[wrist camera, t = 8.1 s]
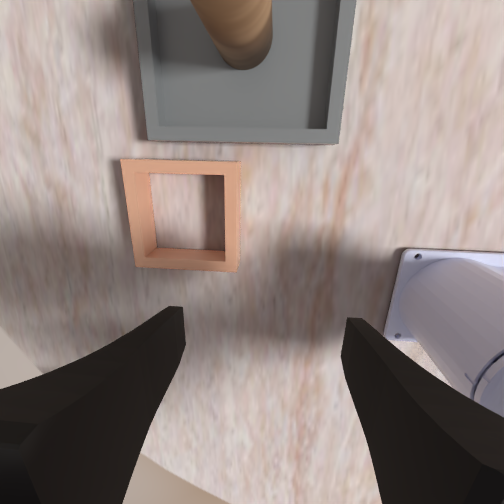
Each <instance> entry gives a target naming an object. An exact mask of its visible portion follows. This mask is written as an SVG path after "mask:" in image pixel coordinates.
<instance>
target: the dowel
mask: <svg viewBox="0 0 504 504" xmlns="http://www.w3.org/2000/svg"><path fill="white" fill-rule="evenodd" d="M190 1H191V3H192V5H193V6H194V8H195V10H196V12H197V14H198V15H199V17H200V19H201V21H202V23H203V25H204V26H205V28H206V30H207V32H208V34H209V35H210V37H211V39H212V41H213V43H214V44H215V46H216V48H217V50H218V52H219V53H220V55H221V57H222V58H223V60H224V61H225V62H226V63H227V64H228V65H230V66H231V67H233V68H235V69H239V70H249V69H252V68H254V67H256V66H258V65H259V64H260V63H261V62H262V61H263V60H264V59H265V58H266V56H267V55H268V53H269V50H270V48H271V44H272V38H273V25H272V0H190Z"/></svg>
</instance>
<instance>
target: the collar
mask: <svg viewBox="0 0 504 504" xmlns="http://www.w3.org/2000/svg"><path fill="white" fill-rule="evenodd" d="M120 161H121V168H122V175H123V182H124V189H125V196H126V203H127V210H128V217H129V224H130V231H131V238H132V245H133V252H134V259H135V266H136V267H146V268H164V269H183V270H201V271H220V272H237V269H238V266H239V263H240V220H241V161H206V160H166V159H120ZM149 173H170V174H205V175H224V191H225V251H215V250H195V249H174V248H157V241H156V232H155V223H154V214H153V205H152V195H151V186H150V177H149Z"/></svg>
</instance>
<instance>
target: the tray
mask: <svg viewBox="0 0 504 504" xmlns="http://www.w3.org/2000/svg"><path fill="white" fill-rule="evenodd" d="M133 5H134V14H135V24H136V33H137V42H138V52H139V61H140V71H141V80H142V90H143V99H144V108H145V118H146V127H147V137H148V140H152V141H167V142H216V143H265V144H314V145H335V144H338V143H339V135H340V127H341V119H342V111H343V103H344V95H345V87H346V79H347V71H348V63H349V55H350V47H351V39H352V31H353V23H354V15H355V7H356V0H272V25H273V38H272V44H271V48H270V50H269V53H268V55H267V56H266V58H265V59H264V60H263V61H262V62H261V63H260V64H259V65H258V66H256V67H254V68H252V69H249V70H239V69H235V68H233V67H231V66H230V65H228V64H227V63H226V62H225V61H224V60H223V58H222V57H221V55H220V53H219V52H218V50H217V48H216V46H215V44H214V43H213V41H212V39H211V37H210V35H209V34H208V32H207V30H206V28H205V26H204V25H203V23H202V21H201V19H200V17H199V15H198V14H197V12H196V10H195V8H194V6H193V5H192V3H191V1H190V0H133Z"/></svg>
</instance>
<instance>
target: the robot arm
mask: <svg viewBox="0 0 504 504" xmlns="http://www.w3.org/2000/svg"><path fill="white" fill-rule="evenodd" d="M416 254H419V256H418V257H417V258H414V256H415V255H416ZM397 333H399V334H398V335H395V334H397ZM384 336H385V337H386V338H385V337H383V336H382V335H381V334H380V333H379V332H378V331H377V330H375V329H374V328H373V327H372V326H371V325H370V324H368V323H367V322H366V321H365V320H363V319H362V318H348V317H347V322H346V328H345V334H344V340H343V345H342V351H341V360H342V365H343V370H344V374H345V379H346V382H347V385H348V388H349V391H350V394H351V397H352V399H353V402H354V405H355V408H356V411H357V414H358V416H359V419H360V422H361V425H362V428H363V431H364V434H365V437H366V440H367V443H368V447H369V451H370V455H371V459H372V463H373V467H374V471H375V475H376V479H377V483H378V488H379V492H380V496H381V501H382V504H504V253H497V252H475V251H453V250H432V249H406V250H405V251H404V252H403V253H402V256H401V261H400V265H399V269H398V273H397V278H396V282H395V286H394V290H393V295H392V299H391V303H390V308H389V312H388V316H387V320H386V325H385V329H384ZM387 339H388V340H397V341H411V342H418V343H419V344H420V345H421V347H422V348H423V349H424V351H425V352H426V353H427V355H428V356H429V357H430V358H431V360H432V361H433V362H434V364H435V365H436V366H437V368H438V369H439V370H440V372H441V373H442V374H443V376H444V377H445V378H446V379H447V381H448V382H449V383H450V385H451V386H452V387H453V388H452V387H450V386H449V385H447V384H446V383H444V382H443V381H441V380H440V379H438V378H437V377H435V376H434V375H432V374H431V373H429V372H428V371H426V370H425V369H424V368H422V367H421V366H420V365H418V364H417V363H416V362H414V361H413V360H412V359H410V358H409V357H408V356H406V355H405V354H404V353H403V352H401V351H400V350H399V349H398V348H396V347H395V346H394V345H393V344H392V343H390V342H389V341H388V340H387ZM185 345H186V342H185V329H184V317H183V307H176V306H169V307H167V308H165V309H164V310H162V311H161V312H159V313H158V314H156V315H155V316H153V317H152V318H150V319H149V320H147V321H146V322H144V323H143V324H141V325H140V326H138V327H137V328H135V329H134V330H132V331H130V332H129V333H127V334H125V335H124V336H122V337H120V338H119V339H117V340H115V341H114V342H112V343H110V344H109V345H107V346H105V347H103V348H101V349H99V350H97V351H95V352H93V353H91V354H89V355H87V356H85V357H83V358H81V359H79V360H77V361H74V362H72V363H70V364H67V365H65V366H63V367H60V368H58V369H56V370H53V371H51V372H48V373H46V374H43V375H41V376H38V377H35V378H32V379H30V380H27V381H24V382H21V383H18V384H15V385H12V386H10V387H6V388H3V389H0V504H122V503H123V500H124V497H125V494H126V491H127V488H128V485H129V482H130V479H131V476H132V473H133V470H134V467H135V465H136V462H137V459H138V457H139V454H140V451H141V448H142V446H143V443H144V440H145V438H146V435H147V433H148V430H149V427H150V425H151V422H152V420H153V418H154V416H155V413H156V411H157V409H158V407H159V405H160V403H161V401H162V399H163V397H164V395H165V393H166V391H167V389H168V387H169V385H170V383H171V381H172V379H173V376H174V374H175V372H176V370H177V368H178V366H179V363H180V360H181V357H182V354H183V351H184V348H185Z"/></svg>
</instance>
